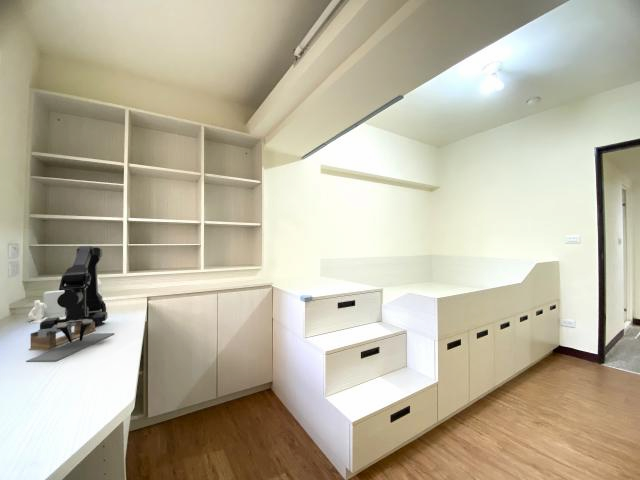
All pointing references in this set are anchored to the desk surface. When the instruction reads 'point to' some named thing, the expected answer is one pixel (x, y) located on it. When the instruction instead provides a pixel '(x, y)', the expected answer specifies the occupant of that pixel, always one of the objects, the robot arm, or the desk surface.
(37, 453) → the desk surface
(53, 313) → the skincare box
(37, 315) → the koala figurine
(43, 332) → the rail
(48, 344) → the standards
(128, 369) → the desk surface
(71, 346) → the mat
